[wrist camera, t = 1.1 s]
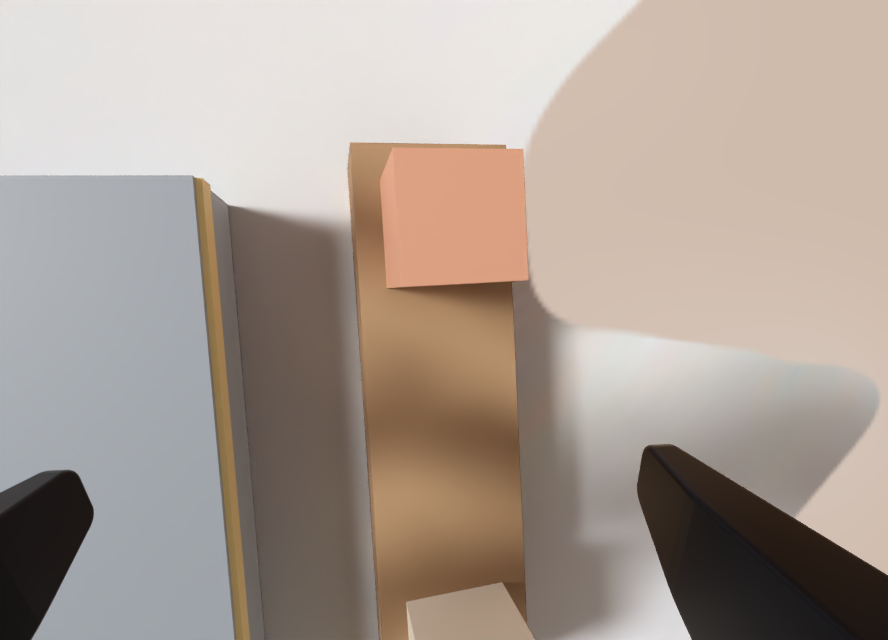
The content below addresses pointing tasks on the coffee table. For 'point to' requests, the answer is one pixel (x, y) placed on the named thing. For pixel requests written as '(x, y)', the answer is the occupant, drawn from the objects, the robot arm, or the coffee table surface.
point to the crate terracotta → (454, 216)
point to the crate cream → (467, 616)
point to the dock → (131, 400)
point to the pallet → (434, 420)
